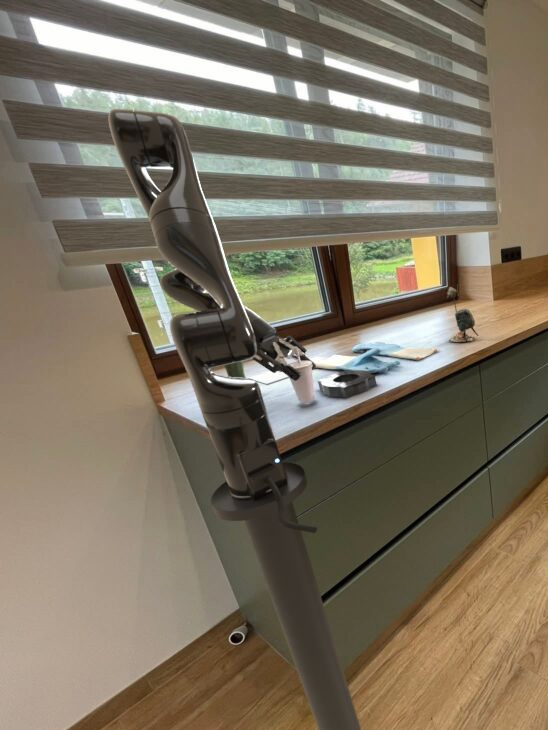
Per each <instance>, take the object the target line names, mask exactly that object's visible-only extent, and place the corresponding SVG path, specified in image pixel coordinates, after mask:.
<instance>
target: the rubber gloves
mask: <svg viewBox="0 0 548 730" xmlns="http://www.w3.org/2000/svg"><path fill="white" fill-rule="evenodd" d="M360 350H366V352H364V353H362V354H360V355H358V356H350V355H340V354H332V355H331V356H330V357H328V358H326V359H323V360H320V359H313V360H311V361H312V362H314V363H315V364H316V367H315V368H318V369H319V368H320V369H326V370H343V371H346V370H348V369H349V370H364V371H368V372H370V373H371V374H374V373H385V372H388V370H389V369H394V368H397V367H398V366H400V365H401V361H400V360H394V361H390V362H389V361H384V360H381V359H379V358H377V357H375V355H378V356H379V355H380V356H388V357H393V358H401V359H407V360H415V361H418V360H422V359H424V358H427V357H428V356H430V355H433V354H435V353H436V352H438V348H429V347H401V346H400V345H399V344H397V343H386V342H382V341H381V342H380V341H379V342H378V341H377V342H374V343H373V342H366V343H359V344H357V345H355V346H353V348H351V352H353V353H357V352H358V351H360Z"/></svg>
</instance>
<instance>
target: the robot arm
mask: <svg viewBox="0 0 548 730" xmlns="http://www.w3.org/2000/svg"><path fill="white" fill-rule="evenodd" d="M107 118H108V119H107V121H108V126H109V130H110V131H109V132H110V135H111V138H112V141H113V143H114V145H115V146H114V147H115V149H116V152H117V154H118V156H119V158H120V161H121V163H122V166H123V167H124V170H125V172H126V174H127V176H128V179H129V180H130V183H131V185H132V188H133V189H134V192H135V194H136V196H137V198H138V200H139V202H140V204H141V206H142V207H143V210H144V212H145V213H146V216H147V218H148V221H149V225H150V228H151V231H152V234H153V238H154V241H155V245H156V247H157V250H158V252H159V253H160V255H161V258H162V259H163V261H165V262H166V263H168V264H169V265H171V266H172V267H173V268H175V269H173V270H171V271H168V272H166V273H164V274H163V275H162V276H161V277H160V280H159V284H160V287H161V290H162V291H163V292H164V293H165V295H167V297H169V298H170V299H171V300H173V301H174V302H177V303H178V304H180V305H183V306H185V307H187V308H190V309H192V310H193V311H191V312H185V313H184V312H183V313H179V314H175V315H174V316H172V318H171V319H170V321H169V329H170V334H171V337H172V341H173V343H174V346H175V348H176V350H177V354H178V356H179V357H180V360H181V362H182V364H183V366H184V368H185V371H186V373H187V376H188V378H189V381H190V383H191V386H192V388H193V391H194V394H195V396H196V400H197V404H198V406H199V409H200V412H201V414H202V417H203V420H204V423H205V425H206V428H207V431H208V434H209V436H210V440H211V443H212V445H213V448H214V450H215V451H214V452H215V454H216V456H217V458H218V461H219V465H220V467H221V469H222V473H223V475H224V478H225V480H226V481H227V484H228V486H229V489H230V494H231V496H232V497H233V498H235V499H238V500H249V499H252V500H254V501H256V500H258V499H260V498H262V497H264V496H265V495H267V494H269V493H271V492H273V494H274V496H275V499H276V502H277V506H278V520H279V521H280V523H281V524H282V525H284V526H285V527H287V528H290V529H294V530H299V531H301V532H305V533H312V534H315V533H317V531H318V528H317V526H313V525H307V524H300V523H299V524H296V523H292V522H290V521H288V520H287V519H285V517H284V504H283V500H282V497H281V494H280V492H279V490H278V489H279V488H281V487H282V486H284V485H286V484H288V482H287V475H286V472H285V470H284V467H283V463H284V462H283V460H282V457H281V454H280V451H279V448H278V445H277V441H276V437H275V434H274V430H273V427H272V425H271V421H270V417H269V414H268V411H267V407H266V404H265V400H264V397H263V393H262V391H261V386H260V385H259V383H258V381H256V380H254V379H253V378H247V377H246V378H237V377H228V375H224V374H220V373H216V372H214V371H213V370H212V368H217V367H221V366H224V365H227V364H232V363H237V362H242V361H243V362H246V361H250V360H253V361H255V362H256V363H258V364H259V365H260V366H262V367H263V368H265V369H267V370H268V371H270V372H272V374H276V373H277V372H279V373H283V374H284V375H286V376H287V377H288V378H289V377H290V378H291V379H293V380H295V381H297V380H298V379H299V378H300V376H301V373H299V372H298V371H297V370H296V369H294V368H293V367H292V366H290V365H288V364H289V363H288V362H287V360H291V359H292V360H294V361H295V362H296V361H298V358H297V354H296V350H295V347H297V348H298V352H299V356H300V360H301V361H304V360H307V361H311V362H312V361H313V360H311V359H310V358H309V357H308V356H306V352H307V349H306V348H305V347H304V346H303V345H302V344H301V343H299V342H298V341H297V340H296V339H295V338H294V337H292V335H287V336H286V337H285V338H283V337H280V336H278V335H277V329H276V328H275V327H273V326H272V325H271V324H270V323H268V322H267V321H266V320H265V319H263V318H262V317H261V316H259V315H258V314H257V313H256V312H254V311H253V310H251V309H250V308H249V307H247V306H245V305H243V302H242V300H241V298H240V295H239V293H238V290H237V288H236V286H235V283H234V281H233V278H232V276H231V272H230V269H229V266H228V263H227V258H226V256H225V252H224V249H223V245H222V241H221V238H220V236H219V233H218V229H217V226H216V223H215V221H214V218H213V215H212V214H211V210H210V208H209V205H208V203H207V200H206V198H205V195H204V192H203V189H202V186H201V182H200V179H199V175H198V171H197V168H196V163H195V160H194V156H193V152H192V148H191V144H190V141H189V137H188V136H187V132H186V130H185V128H184V126H183V125H182V123H181V121H180V120H179V119H178V118H177V117H176V116H174V115H171V114H168V113H164V112H157V111H156V112H155V111H146V110H136V109H135V110H133V109H125V108H123V109H122V108H115V109H114V108H113V109H110V111H109V113H108V117H107ZM147 169H166V170H172V172H171V175H170V177H169V180H168V181H167V183H166V184H165V185H164V187H163V188H162V189H161V190H160V189H159V188H158V187H157V186H156V184H155V182H154V181H153V180H152V179H151V177H150V175H149V173H148V171H147ZM286 359H287V360H286ZM312 365H313V366H312V371H314V369H315V368H317V367H316V364H315V363H314V362H312ZM290 378H289V379H290ZM226 481H225V482H226Z"/></svg>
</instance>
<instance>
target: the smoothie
mask: <svg viewBox="0 0 548 730" xmlns="http://www.w3.org/2000/svg"><path fill="white" fill-rule="evenodd" d="M295 350H296V354H297V355H296V354H295V355H296V356H297V358H298V361H296V360H295V361H291V362H289V363H287V364H288V365H290V366H292V367H293V368H294V369H296V370H297V371H298V372H299V373H301V376H300V378H299V379H298V380H297V381H295V380H293V379H291V378H290V377H289V376H288V379H289V381H290V383H291V385H292V388H293V390H294V392H295V395H296V397H297V400H298V402H299V403H301V404H307V403H311V402H313V401H314V400H315V399H316V397H315V395H316V394H315V386H314V385H315V384H314V375H313V370H312V366H313V365H312V362H311V361H312V360H311V361H307V360H304V361H301V360H300V356H299V352H298V350H299V348H297V347H295Z"/></svg>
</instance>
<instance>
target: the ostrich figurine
mask: <svg viewBox="0 0 548 730" xmlns="http://www.w3.org/2000/svg"><path fill="white" fill-rule="evenodd" d="M457 292H458V291H457V289H456V288H454V287H453V286H450V287H448V289H447V292H446V295H447V296H446V299H448V298H452V302H453V304H454V309H455V313H454V317H455V320H456V321H455V322H456V326H457V328H458V331H457V334H455V335H453V337H451V338H450V339H448V341H449V342H454V343H455V342H456V343H464V342H465V343H466V342H473V341H474V340H475V337H474V336H472V335H468V333H467V330H469V329H471V330H472V332H473V333H474V334H475V335H476V336H477V337H479V335H480V334H478V332H476V330H475V328H474V327H475V325H476V321H475V318H474V316H473V313H472V312H471V311H470V310H469V309H468V308H463V309H459V310H458V309H457V305H456V300H455V298H456V296H457Z"/></svg>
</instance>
